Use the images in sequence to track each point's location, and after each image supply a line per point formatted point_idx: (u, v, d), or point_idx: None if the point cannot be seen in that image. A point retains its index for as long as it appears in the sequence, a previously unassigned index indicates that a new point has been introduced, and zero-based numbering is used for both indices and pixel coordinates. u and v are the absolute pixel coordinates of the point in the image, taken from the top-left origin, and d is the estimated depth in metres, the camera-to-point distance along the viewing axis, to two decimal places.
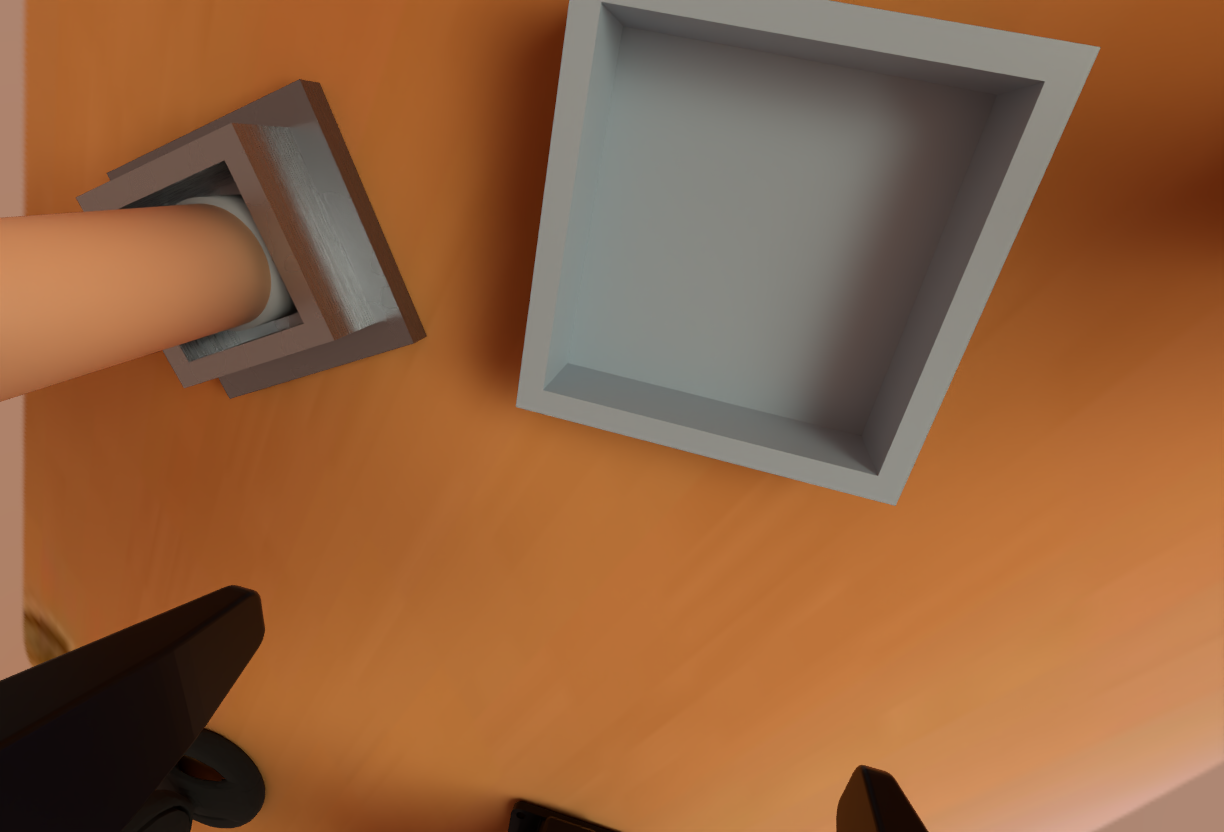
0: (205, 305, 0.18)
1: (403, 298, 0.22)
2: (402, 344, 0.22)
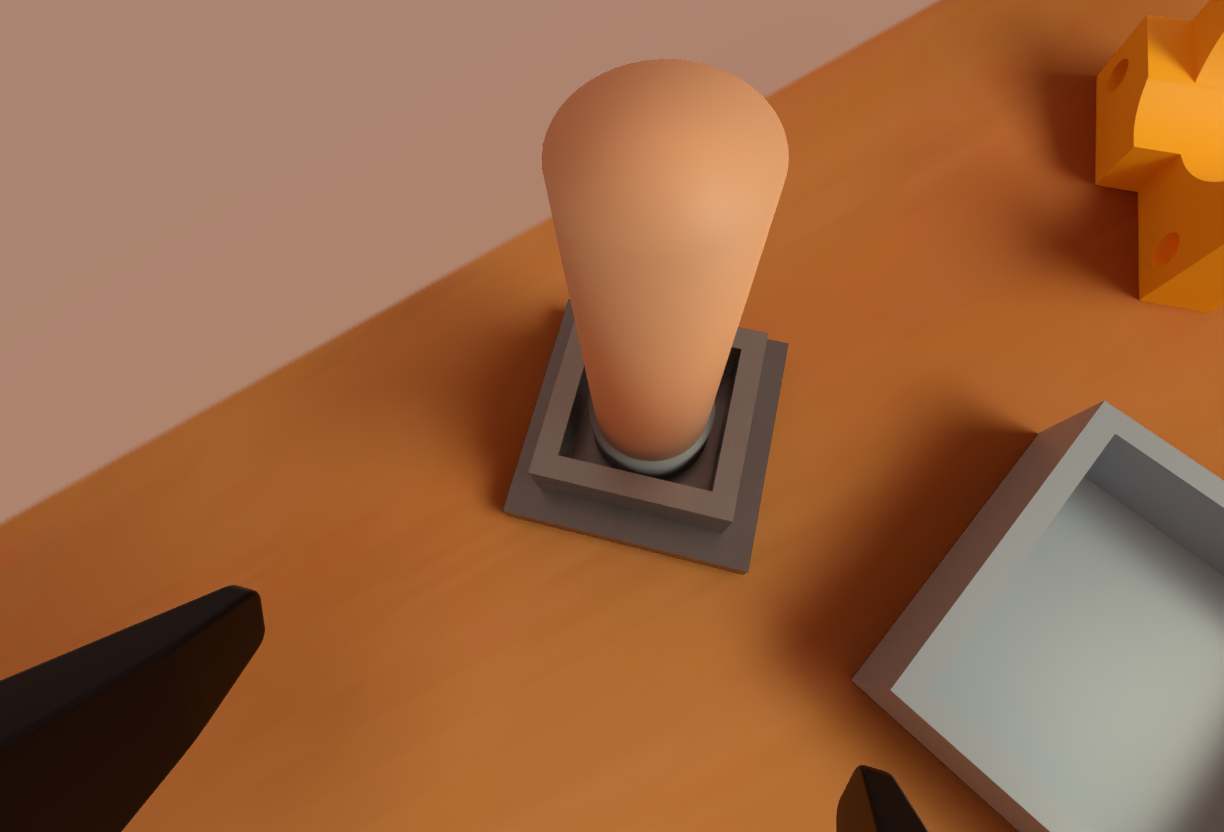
0: (696, 423, 0.18)
1: None
2: (735, 566, 0.21)
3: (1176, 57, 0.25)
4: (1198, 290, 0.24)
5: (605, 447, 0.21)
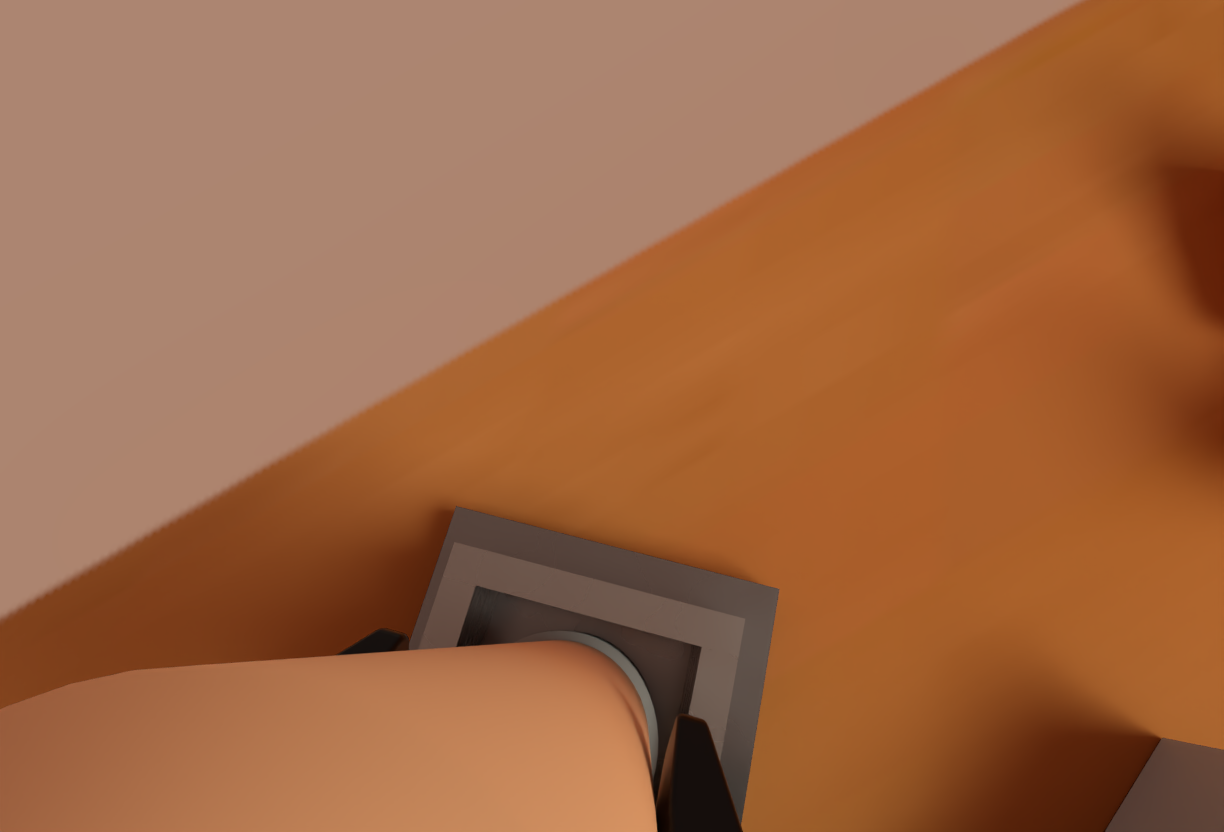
0: None
1: None
2: None
3: None
4: None
5: None
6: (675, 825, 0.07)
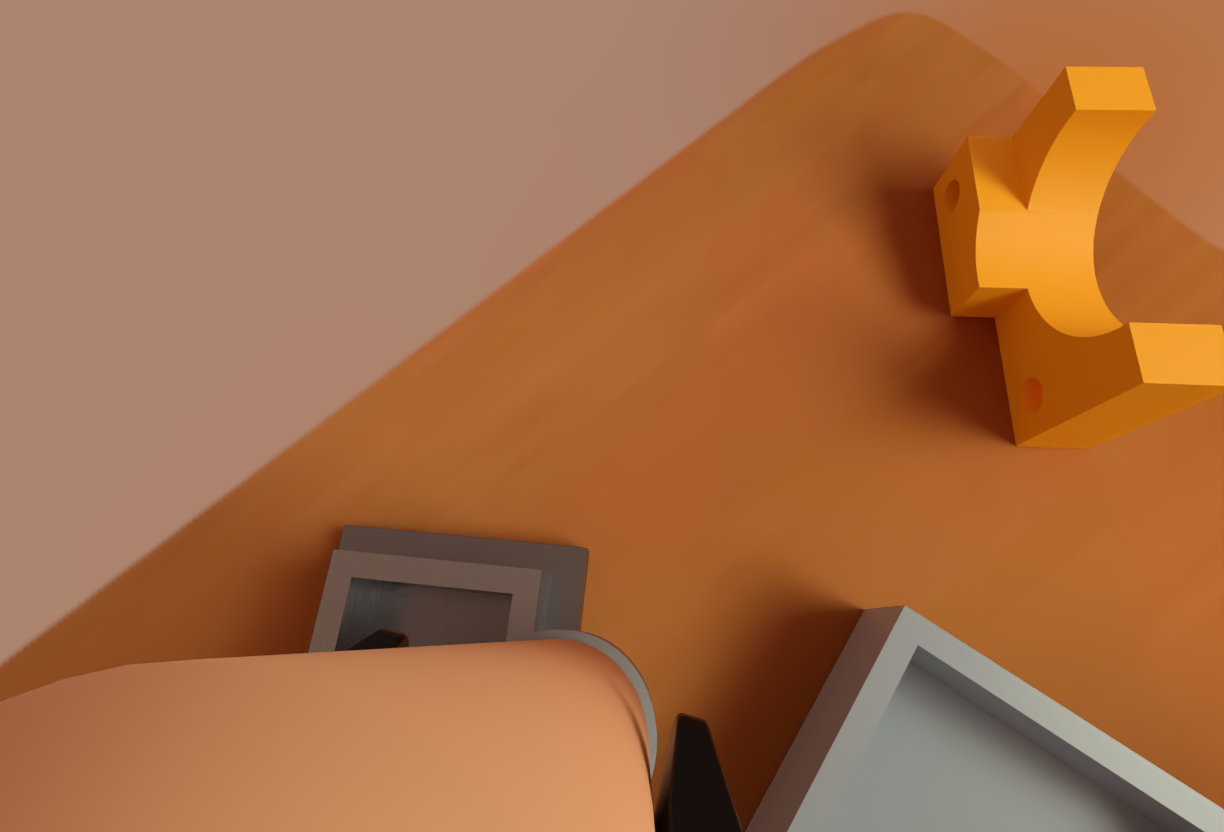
0: None
1: None
2: None
3: (1004, 182, 0.24)
4: (1071, 437, 0.22)
5: None
6: (675, 825, 0.07)
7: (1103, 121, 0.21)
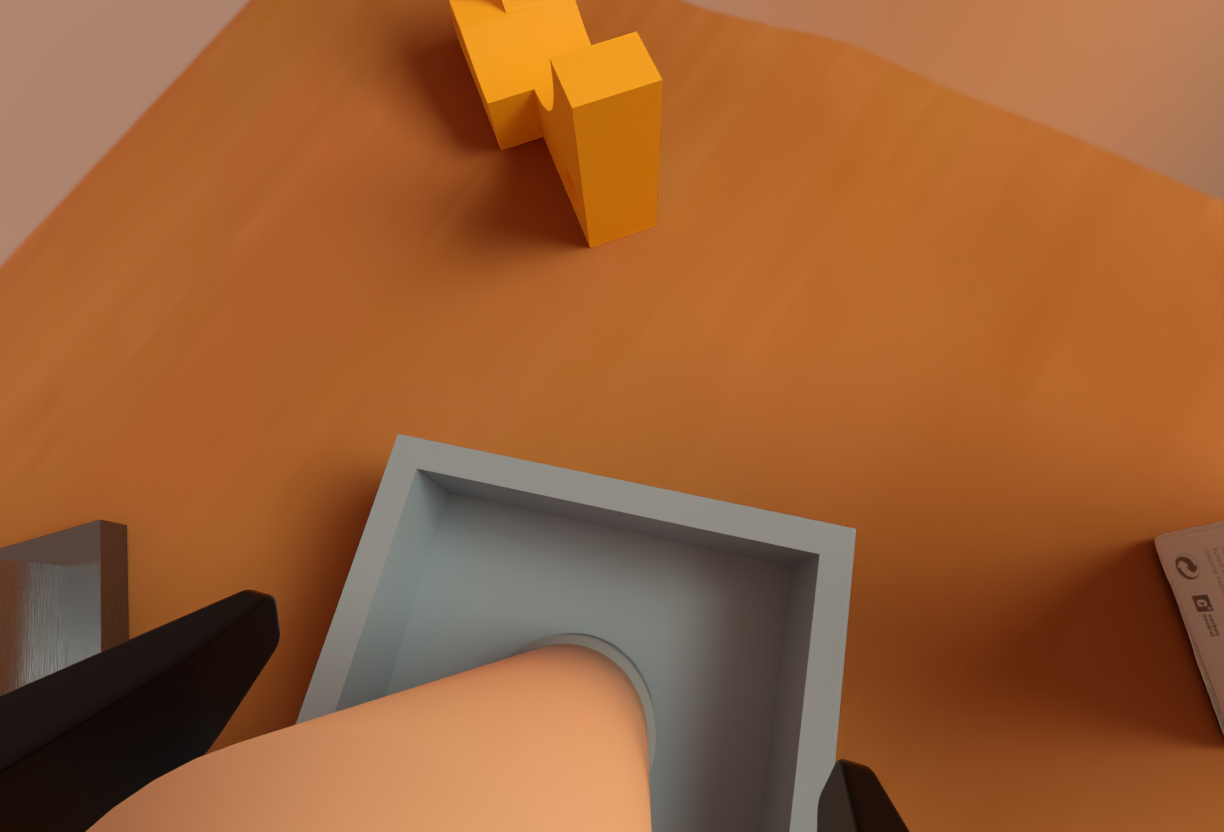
0: None
1: None
2: None
3: None
4: (621, 215, 0.21)
5: None
6: None
7: None
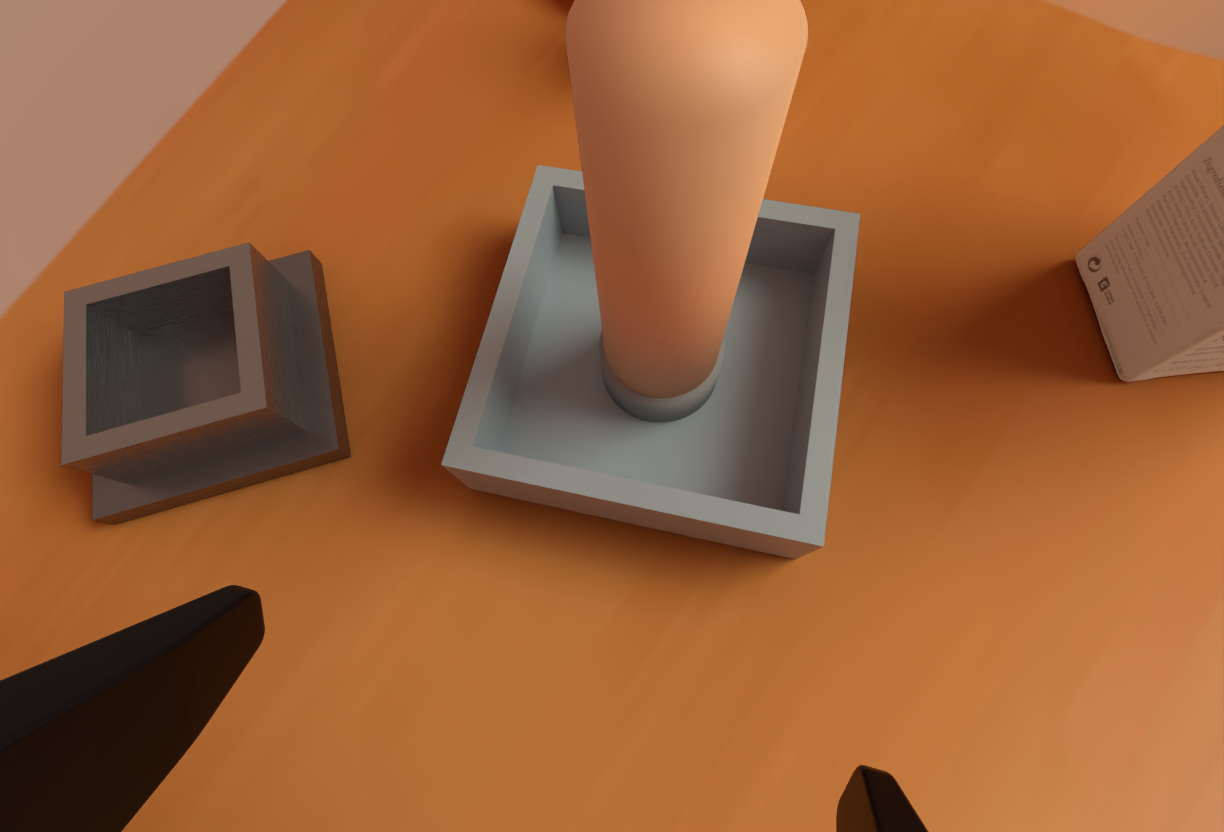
0: (706, 352, 0.18)
1: (339, 415, 0.23)
2: (326, 451, 0.22)
3: None
4: None
5: (615, 384, 0.21)
6: None
7: None
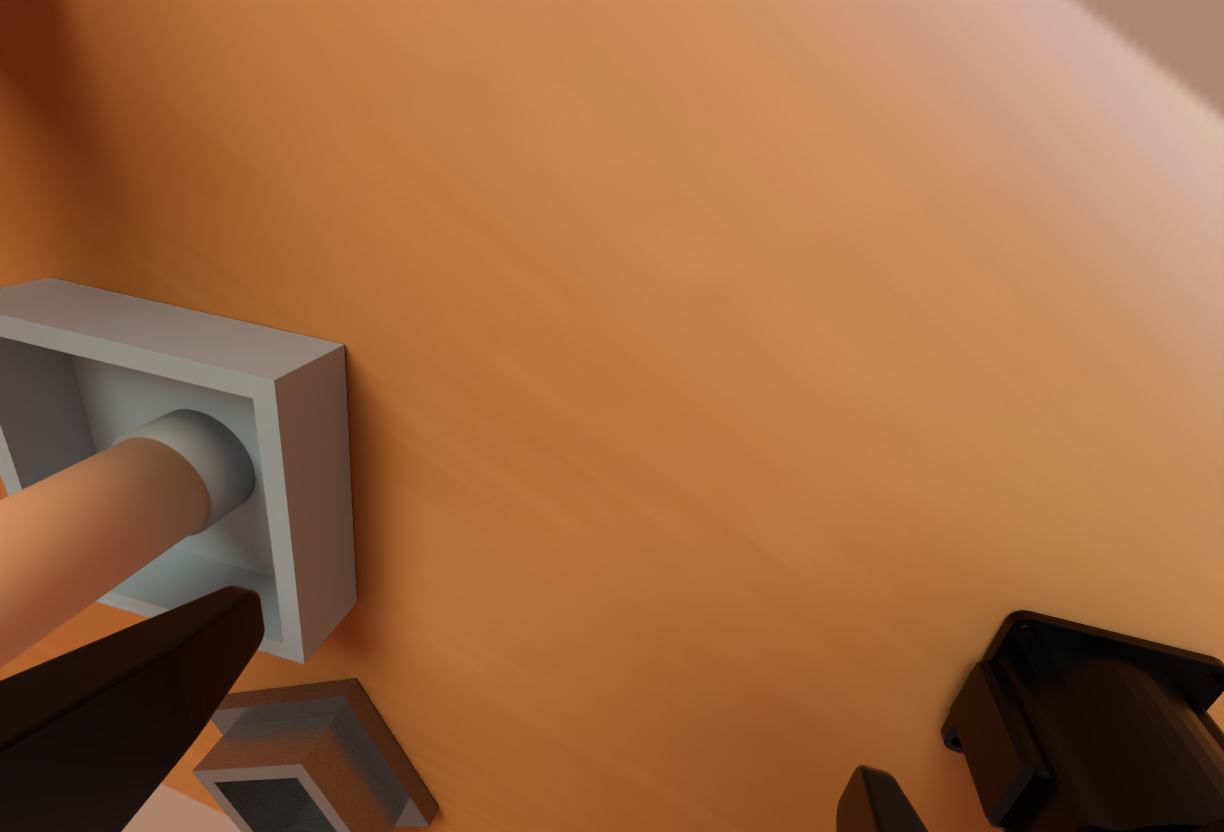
0: (113, 498, 0.19)
1: (324, 689, 0.29)
2: (347, 703, 0.28)
3: None
4: None
5: (210, 525, 0.23)
6: None
7: None
